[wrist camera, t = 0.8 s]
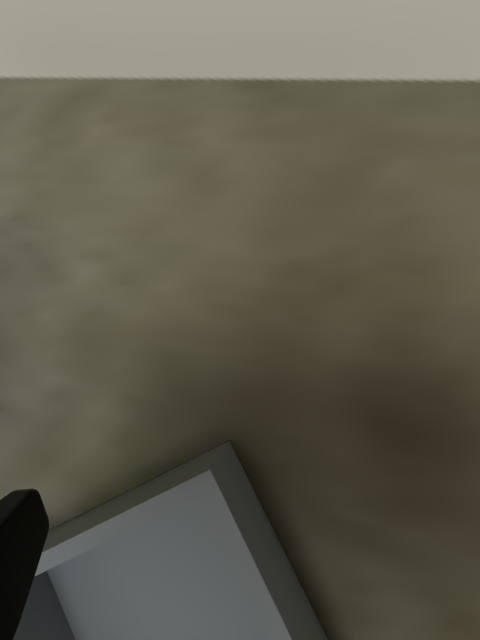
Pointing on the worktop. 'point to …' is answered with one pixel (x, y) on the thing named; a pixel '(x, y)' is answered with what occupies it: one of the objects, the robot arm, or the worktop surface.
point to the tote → (171, 565)
